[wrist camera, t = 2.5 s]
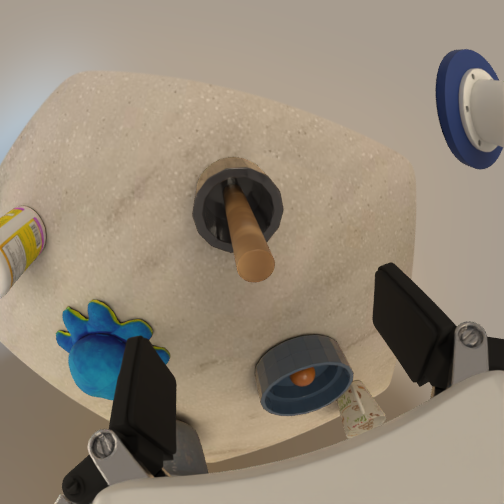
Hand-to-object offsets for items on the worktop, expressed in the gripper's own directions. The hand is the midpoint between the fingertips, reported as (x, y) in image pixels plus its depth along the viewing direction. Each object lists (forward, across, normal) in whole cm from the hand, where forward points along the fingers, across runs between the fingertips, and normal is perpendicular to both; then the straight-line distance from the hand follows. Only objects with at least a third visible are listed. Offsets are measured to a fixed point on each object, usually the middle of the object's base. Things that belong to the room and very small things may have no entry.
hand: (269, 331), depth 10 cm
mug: (+19, -12, +42) cm, 48 cm away
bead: (+17, -4, +28) cm, 33 cm away
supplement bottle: (+20, +24, -4) cm, 32 cm away
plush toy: (+20, +22, +16) cm, 34 cm away
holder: (+19, 0, 0) cm, 19 cm away
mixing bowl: (+19, -4, +29) cm, 35 cm away
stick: (+19, 0, 0) cm, 19 cm away
